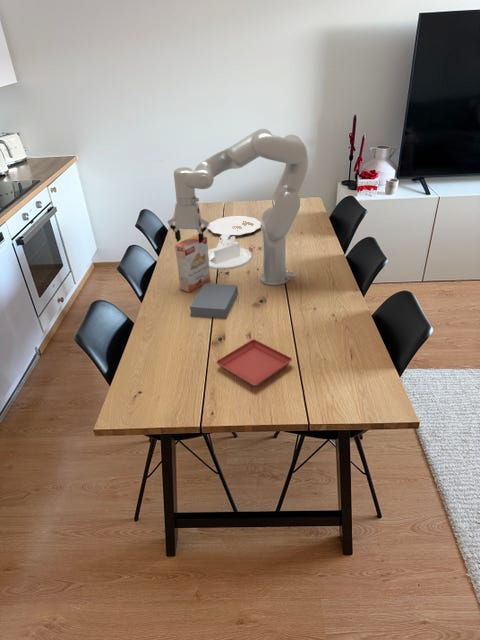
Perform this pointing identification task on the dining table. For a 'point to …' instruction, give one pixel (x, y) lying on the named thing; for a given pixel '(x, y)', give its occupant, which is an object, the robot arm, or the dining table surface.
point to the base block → (214, 300)
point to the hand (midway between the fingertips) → (189, 241)
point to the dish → (228, 254)
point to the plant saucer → (254, 362)
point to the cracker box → (192, 263)
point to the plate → (227, 223)
